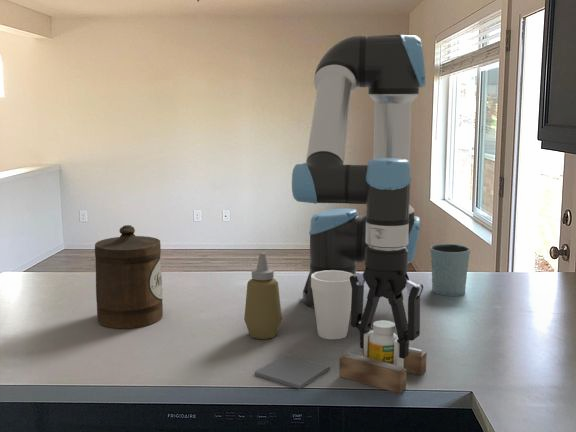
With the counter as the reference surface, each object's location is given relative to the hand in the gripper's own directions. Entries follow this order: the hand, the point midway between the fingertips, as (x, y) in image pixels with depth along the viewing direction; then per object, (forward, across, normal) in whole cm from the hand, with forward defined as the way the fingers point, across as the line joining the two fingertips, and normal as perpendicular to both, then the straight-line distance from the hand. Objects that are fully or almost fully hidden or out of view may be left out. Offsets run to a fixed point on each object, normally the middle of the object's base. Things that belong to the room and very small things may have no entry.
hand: (383, 369), depth 112 cm
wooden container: (+1, -62, -6) cm, 62 cm away
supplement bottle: (+1, 0, 0) cm, 1 cm away
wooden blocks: (+1, 0, 0) cm, 1 cm away
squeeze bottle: (+1, -30, +3) cm, 30 cm away
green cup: (+1, -9, +57) cm, 58 cm away
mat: (+1, -14, -9) cm, 17 cm away
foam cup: (+1, -18, +12) cm, 22 cm away
